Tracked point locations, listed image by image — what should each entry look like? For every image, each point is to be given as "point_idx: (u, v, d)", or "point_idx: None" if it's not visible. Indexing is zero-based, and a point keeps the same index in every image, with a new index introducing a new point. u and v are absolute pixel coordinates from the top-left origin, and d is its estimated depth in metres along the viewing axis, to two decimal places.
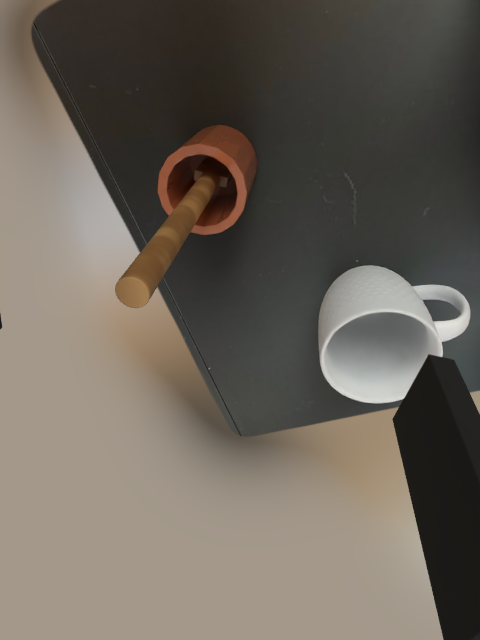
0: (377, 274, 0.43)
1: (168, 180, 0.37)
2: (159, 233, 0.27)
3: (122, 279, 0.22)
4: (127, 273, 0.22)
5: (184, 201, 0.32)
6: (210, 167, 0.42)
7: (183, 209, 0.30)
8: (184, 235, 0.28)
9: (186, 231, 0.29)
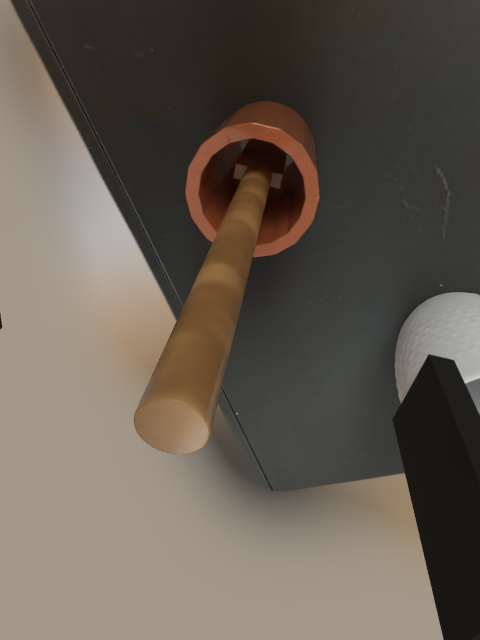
0: None
1: (201, 178, 0.25)
2: (209, 276, 0.15)
3: (150, 402, 0.10)
4: (160, 385, 0.10)
5: (236, 212, 0.20)
6: (255, 160, 0.30)
7: (238, 228, 0.18)
8: (247, 274, 0.16)
9: (248, 266, 0.17)
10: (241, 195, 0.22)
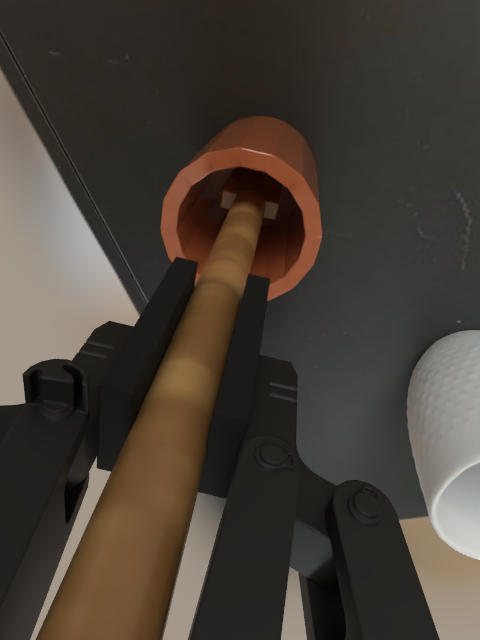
0: None
1: (179, 212, 0.21)
2: (168, 384, 0.10)
3: None
4: None
5: (216, 266, 0.16)
6: (246, 185, 0.25)
7: (217, 292, 0.14)
8: None
9: (228, 351, 0.13)
10: (225, 238, 0.18)
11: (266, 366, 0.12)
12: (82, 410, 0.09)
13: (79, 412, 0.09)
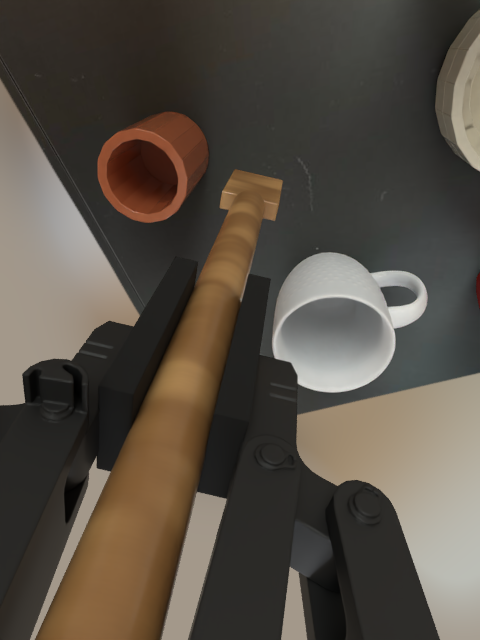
0: (332, 260, 0.42)
1: (108, 167, 0.36)
2: (167, 385, 0.10)
3: None
4: None
5: (215, 267, 0.16)
6: (246, 185, 0.26)
7: (216, 293, 0.14)
8: None
9: (228, 352, 0.13)
10: (225, 239, 0.18)
11: (266, 366, 0.12)
12: (82, 410, 0.09)
13: (79, 412, 0.09)
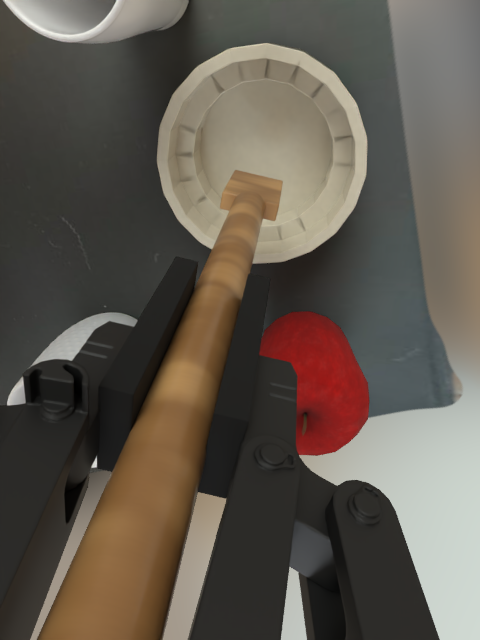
0: (89, 328, 0.40)
1: None
2: (167, 386, 0.10)
3: None
4: None
5: (216, 268, 0.16)
6: (246, 186, 0.26)
7: (216, 294, 0.14)
8: None
9: (228, 353, 0.13)
10: (225, 240, 0.18)
11: (266, 366, 0.12)
12: (82, 410, 0.09)
13: (79, 412, 0.09)
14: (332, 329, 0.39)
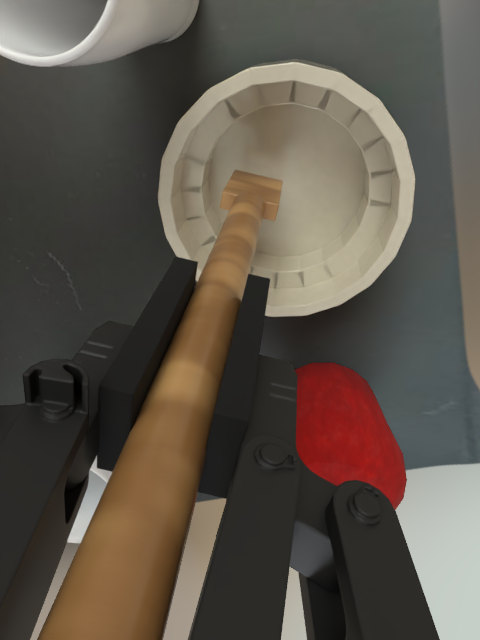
0: None
1: None
2: (167, 386, 0.10)
3: None
4: None
5: (216, 268, 0.16)
6: (246, 186, 0.26)
7: (216, 294, 0.14)
8: None
9: (228, 353, 0.13)
10: (225, 240, 0.18)
11: (266, 366, 0.12)
12: (82, 410, 0.09)
13: (79, 412, 0.09)
14: (359, 387, 0.33)
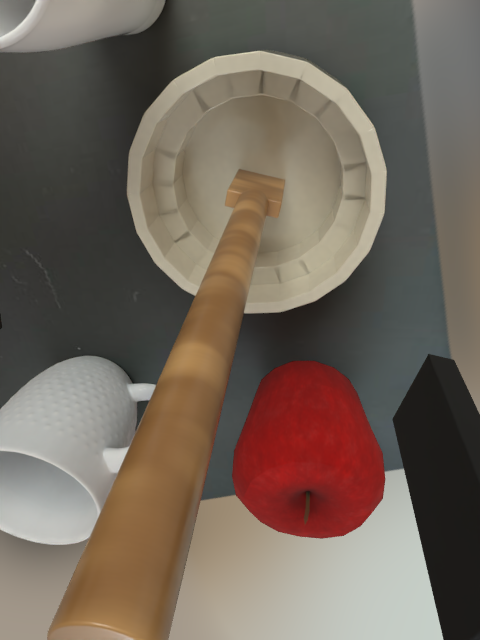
0: (55, 380, 0.34)
1: None
2: (181, 364, 0.11)
3: (68, 626, 0.06)
4: (88, 587, 0.07)
5: (223, 260, 0.16)
6: (250, 184, 0.26)
7: (224, 283, 0.15)
8: (233, 350, 0.13)
9: (236, 337, 0.13)
10: (231, 234, 0.19)
11: None
12: None
13: None
14: (340, 385, 0.33)
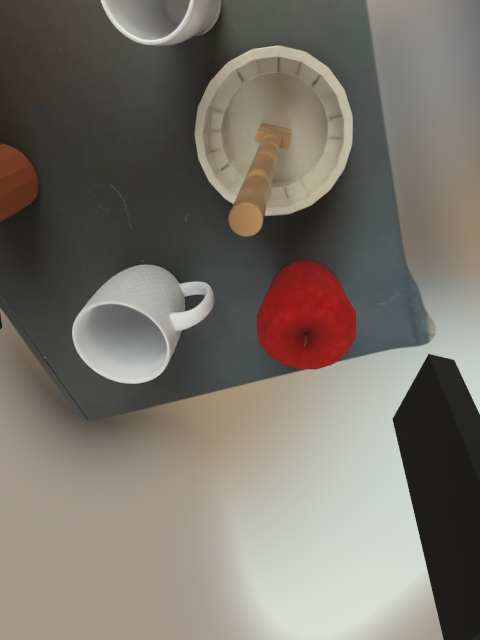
0: (134, 272, 0.50)
1: None
2: (253, 173, 0.27)
3: (237, 205, 0.22)
4: (240, 201, 0.22)
5: (262, 151, 0.32)
6: (270, 129, 0.42)
7: (265, 157, 0.31)
8: (272, 179, 0.29)
9: (272, 176, 0.29)
10: (264, 145, 0.35)
11: None
12: None
13: None
14: (328, 272, 0.49)
